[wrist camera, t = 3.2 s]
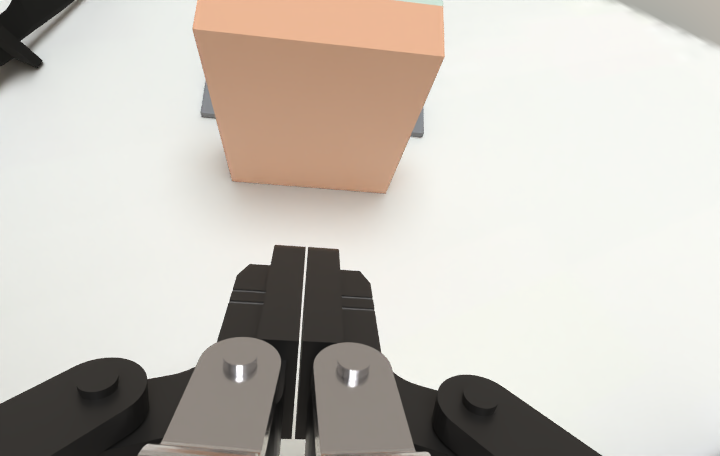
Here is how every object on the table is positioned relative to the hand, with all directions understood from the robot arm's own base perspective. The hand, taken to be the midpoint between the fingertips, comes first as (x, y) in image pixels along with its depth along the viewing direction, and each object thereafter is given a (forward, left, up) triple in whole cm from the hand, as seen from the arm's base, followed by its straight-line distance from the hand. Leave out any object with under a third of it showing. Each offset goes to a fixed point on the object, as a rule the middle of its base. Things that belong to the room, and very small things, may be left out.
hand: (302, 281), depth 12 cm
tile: (0, +12, -19) cm, 22 cm away
